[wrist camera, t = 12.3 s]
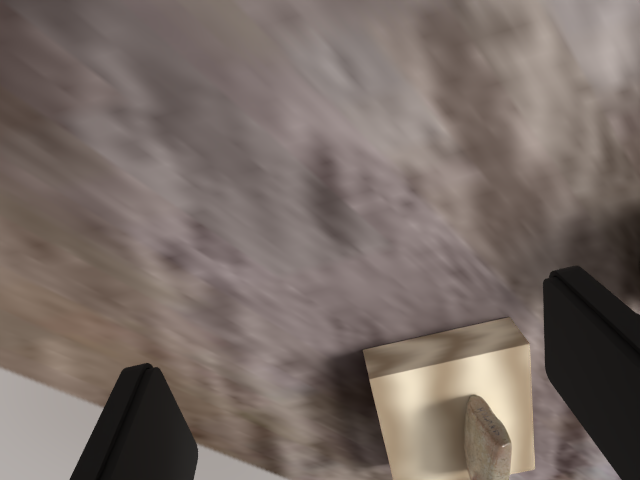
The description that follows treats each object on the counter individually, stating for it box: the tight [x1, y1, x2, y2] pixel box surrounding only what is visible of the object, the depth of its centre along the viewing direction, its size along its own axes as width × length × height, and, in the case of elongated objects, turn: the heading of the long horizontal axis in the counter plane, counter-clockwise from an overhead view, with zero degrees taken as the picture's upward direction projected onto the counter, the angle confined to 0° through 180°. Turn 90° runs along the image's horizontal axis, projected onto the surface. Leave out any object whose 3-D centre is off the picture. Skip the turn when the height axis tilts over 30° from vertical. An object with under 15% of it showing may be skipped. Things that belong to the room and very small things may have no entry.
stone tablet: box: [464, 395, 512, 480], centre depth 42 cm, size 6×4×12 cm
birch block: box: [363, 317, 535, 480], centre depth 45 cm, size 14×16×4 cm
